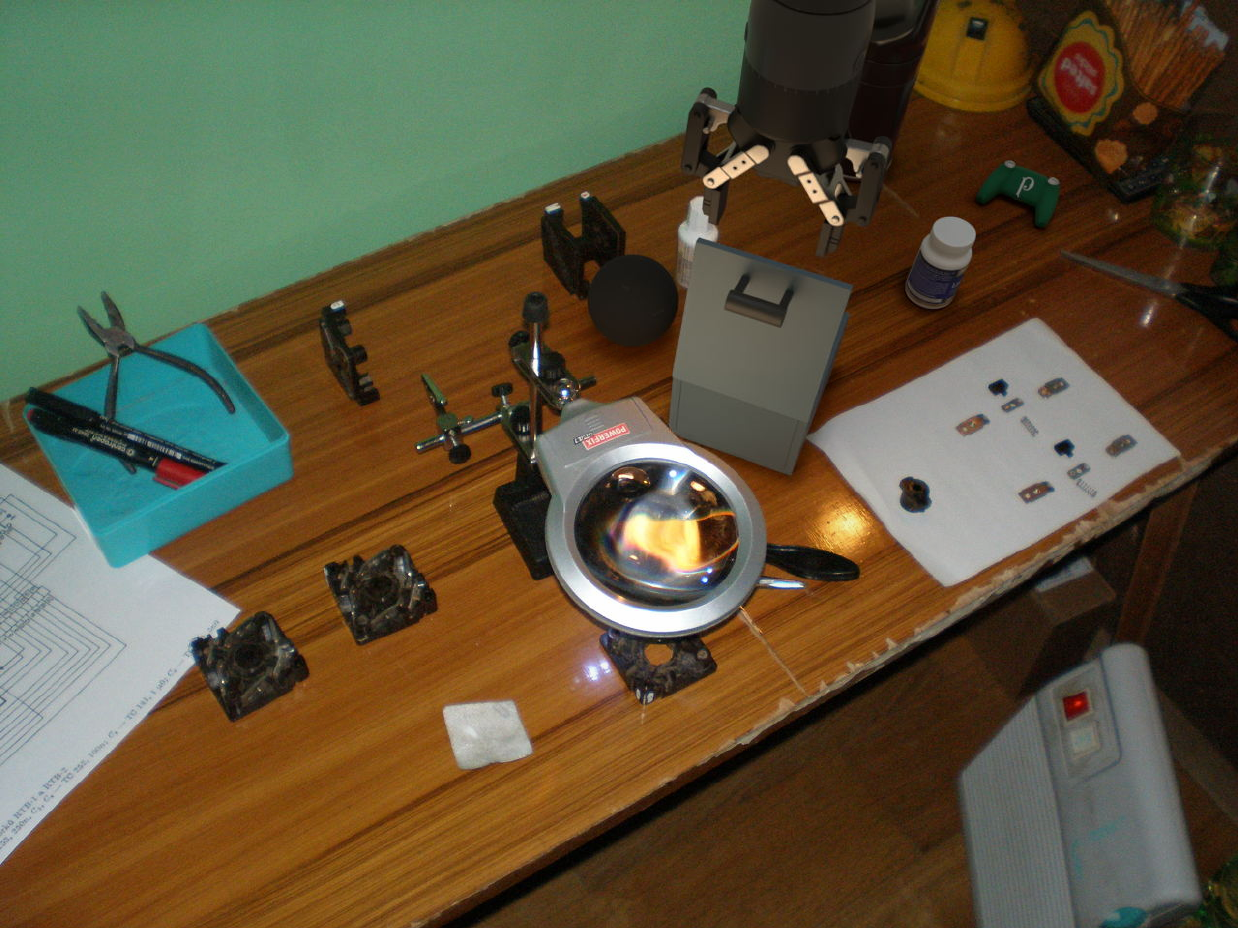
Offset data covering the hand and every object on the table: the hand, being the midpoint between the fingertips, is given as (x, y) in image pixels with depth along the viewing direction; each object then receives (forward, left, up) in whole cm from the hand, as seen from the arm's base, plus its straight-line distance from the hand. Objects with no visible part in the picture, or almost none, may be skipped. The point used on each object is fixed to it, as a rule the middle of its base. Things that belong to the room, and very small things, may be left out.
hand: (768, 233), depth 75 cm
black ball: (-19, +5, -33) cm, 39 cm away
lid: (-1, +3, -15) cm, 15 cm away
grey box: (-3, +8, -33) cm, 34 cm away
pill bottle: (0, +34, -33) cm, 48 cm away
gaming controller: (-2, +54, -33) cm, 64 cm away
